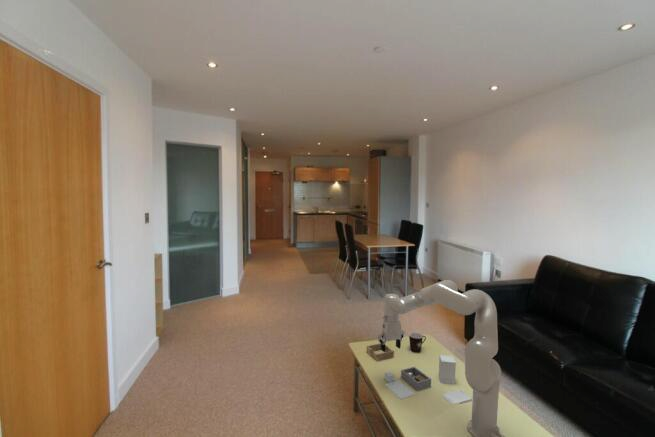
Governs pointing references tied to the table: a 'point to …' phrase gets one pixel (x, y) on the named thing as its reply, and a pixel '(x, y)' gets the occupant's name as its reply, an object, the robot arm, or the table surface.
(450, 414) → the table surface
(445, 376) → the supplement box
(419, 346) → the coffee mug
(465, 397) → the hard drive
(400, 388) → the lid
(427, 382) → the tub
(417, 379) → the walnut block
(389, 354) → the frame
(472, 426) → the robot arm
